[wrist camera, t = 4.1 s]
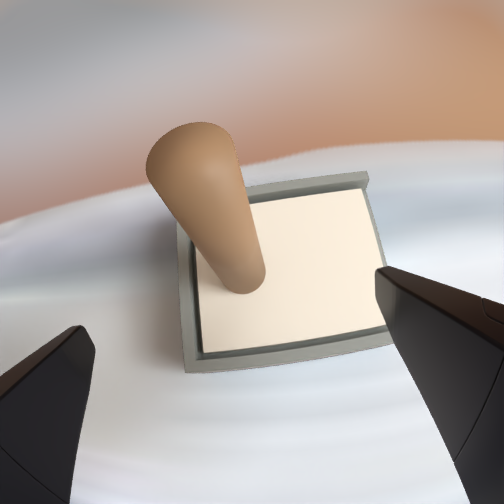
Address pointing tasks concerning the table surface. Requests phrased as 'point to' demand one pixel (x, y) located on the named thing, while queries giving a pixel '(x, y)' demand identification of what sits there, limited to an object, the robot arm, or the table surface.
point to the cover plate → (266, 249)
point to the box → (283, 353)
